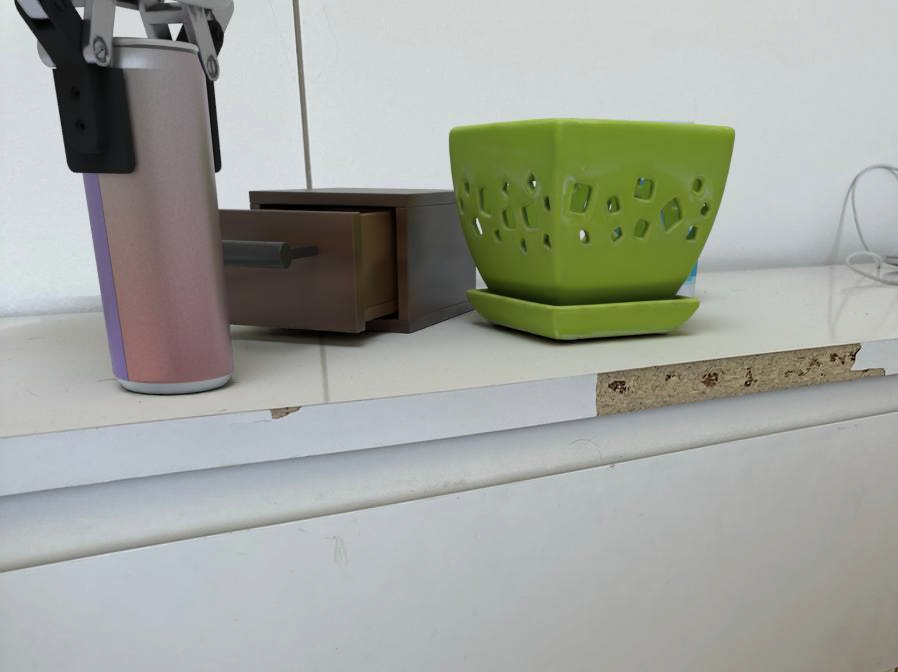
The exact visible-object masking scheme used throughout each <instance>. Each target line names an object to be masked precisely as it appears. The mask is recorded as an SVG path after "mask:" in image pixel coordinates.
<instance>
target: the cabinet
mask: <svg viewBox="0 0 898 672" xmlns="http://www.w3.org/2000/svg"><path fill="white" fill-rule="evenodd" d="M248 199H249V200H248V202H249V209H250V210H262V209H276V208H291V207H305V206H316V207H358V208H396V232H397V269H398V306H399V311H397V312H394V313H391V314H388V315H385V316H381V317H378V318H375V319H372V320H368V321H365V330H364V331H370V332H371V331H372V332H373V331H374V332H387V333H403V334H411V333H413V332H416V331H419V330H421V329H424V328H427V327H429V326H433V325H435V324H437V323H440V322H443V321H445V320H446V321H447V320H449V319H452V318H454V317H457V316H459V315H462V314H465V313H467V312H470V311H473V310H476V309H475V308H474V307H473V306H472V304H471V303H470V302H469V300H468V298H467V296H466V291H467V290H471V289H477V267H476V265H475V263H474V261H473V258H472V256H471V253H470V251H469V248H468V245H467V242H466V239H465V236H464V233H463V230H462V226H461V222H460V218H459V215H458V210H457V205H456V201H455V195H454V189H450V188H449V189H448V188H447V189H446V188H444V189H443V188H391V187H390V188H388V187H387V188H385V187H317V188H315V187H313V188H291V189H289V188H287V189H286V188H285V189H265V190H264V189H262V190H260V189H259V190H249V191H248Z"/></svg>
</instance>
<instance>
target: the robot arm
mask: <svg viewBox="0 0 898 672" xmlns="http://www.w3.org/2000/svg"><path fill="white" fill-rule="evenodd" d="M13 1H14V6H15V8H16V11H17V13H18V14H19V16H20V17H21V18H22V20H23V21H24V23H25V24H26V26H27V27H28V28H29V30H30V32H31V33H32V34H33V35H34V37H35V39H36V50H37V54H38V56H39V59H40V60H41V62H42V64H44V65H45V66H46V67H47V68H51V71H52V77H53V84H54V90H55V98H56V102H57V104H56V105H57V108H58V115H59V122H60V123H59V124H60V129H61V136H62V141H63V146H64V154H65V160H66V166H67V167H68V170H70V171H71V172H72V173H75V174H82V173H101V174H130V173H132V172H133V171H134V168H135V158H134V150H133V142H132V134H131V127H130V119H129V111H128V103H127V96H126V88H125V80H124V76H123V69H122V68H115V67H109V68H106V66H107V65H108V64H109V62H110V59H111V51H112V40H113V37H114V28H115V18H116V9H117V8H116V7H119V8H123V9H127V10H132V11H137V12H139V15H140V19H141V20H142V24H143V28H144V31H145V34H146V38H152V39H164V40H173V39H174V38H173V36H172V32H171V29H170V25H177V24H178V25H179V24H180V25H181V27H180V29H179V31H178V34H177V36H176V38H175V40H173V41H180V42H186V43H191V44H194V45H196V46H197V47H198V50H199V53H197V54H198V58H199V61H200V63H201V66H202V69H203V71H204V73H205V77H206V88H207V98H208V108H209V118H210V128H211V138H212V148H213V159H214V169H215V174H218V173H220V171H222V168H223V167H222V166H223V164H222V163H223V162H222V154H221V153H222V151H221V143H220V142H221V141H220V133H219V121H218V112H217V100H216V89H215V88H216V87H215V82H216V81H218V79H219V77H220V74H221V73H220V63H219V59H218V57H219V55H220V53H221V50H222V48H223V45H224V40H225V33H226V30H227V28H228V26H229V23H230V21H231V19H232V16H233V14H234V11H235V3H234V0H172V2H166V0H13ZM77 8H83V14H82V15H83V17H82V16H81V15H80V13H79V12H78V10H77Z"/></svg>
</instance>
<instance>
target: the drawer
mask: <svg viewBox="0 0 898 672" xmlns="http://www.w3.org/2000/svg"><path fill="white" fill-rule="evenodd" d="M218 209H219V219H220V230H221V240H222V250H223V260H224V270H225V280H226V290H227V301H228V311H229V321H230V326H231V325H232V326H233V325H234V326H247V327H260V328H261V327H263V328H278V329H292V330H305V331H307V330H308V331H323V332H337V333H338V332H340V333H354V334H358V333H360V332H364V331H366V330H365V321H368V320H372V319H375V318H378V317H381V316H385V315H388V314H391V313H394V312H397V311H399V306H398V269H397V232H396V208H358V207H316V206H305V207H291V208H276V209H262V210H250V208H248V209H247V208H246V209H245V208H218Z"/></svg>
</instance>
